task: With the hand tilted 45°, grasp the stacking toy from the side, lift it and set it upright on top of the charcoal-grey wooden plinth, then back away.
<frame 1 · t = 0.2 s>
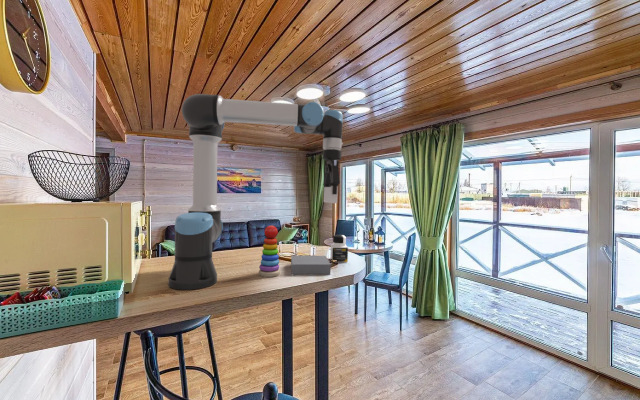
hand: (330, 202, 117), 28 cm above the bar counter, tool pointing down, fingers open, 13 cm apart
charcoal plinth: (309, 269, 120), on the bar counter
stacking toy: (269, 275, 111), on the bar counter
medicine bottle: (338, 261, 136), on the bar counter
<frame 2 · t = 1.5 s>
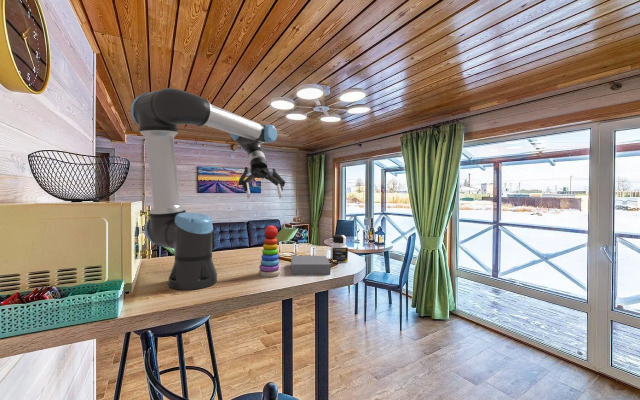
hand: (265, 196, 122), 30 cm above the bar counter, tool tilted 45°, fingers open, 13 cm apart
nothing on the bar counter moved.
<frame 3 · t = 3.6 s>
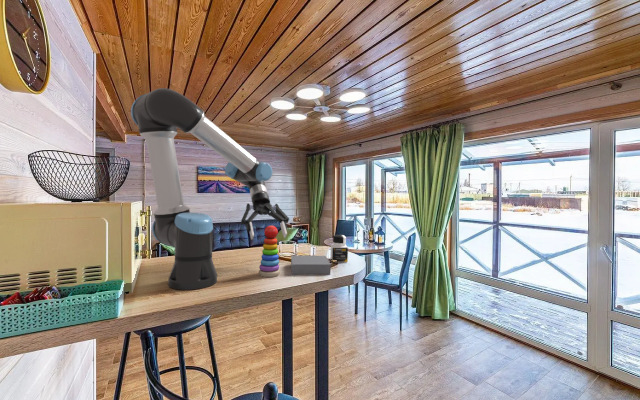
hand: (269, 236, 116), 14 cm above the bar counter, tool tilted 45°, fingers open, 13 cm apart
nothing on the bar counter moved.
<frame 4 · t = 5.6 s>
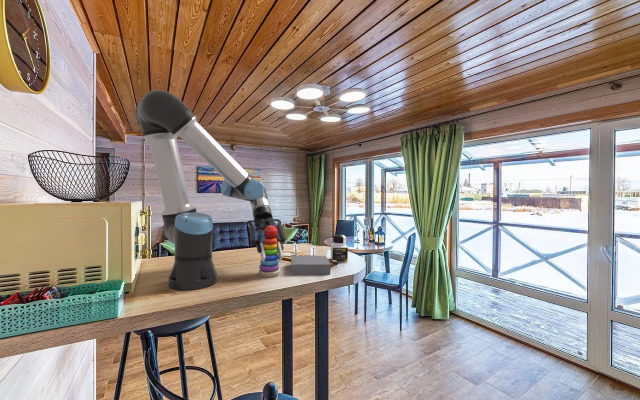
hand: (272, 258, 107), 7 cm above the bar counter, tool tilted 45°, fingers closed on stacking toy, 6 cm apart
stacking toy: (269, 275, 111), on the bar counter, touching gripper
everything else where it was.
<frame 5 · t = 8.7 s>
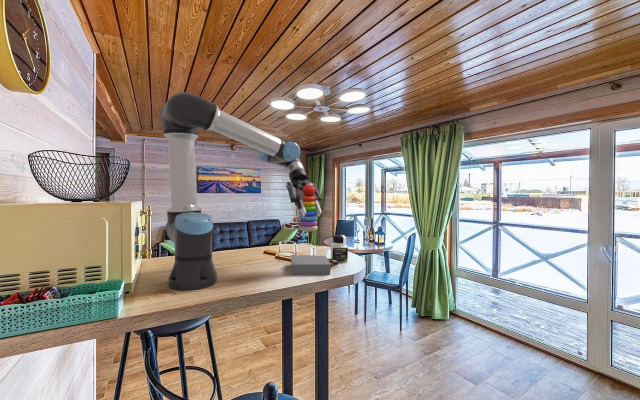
hand: (312, 214, 115), 23 cm above the bar counter, tool tilted 45°, fingers closed on stacking toy, 6 cm apart
stacking toy: (307, 230, 119), point 16 cm above the bar counter, touching gripper
everything else where it was.
when the fingers open (12 cm above the bar counter, at t = 11.5 s): stacking toy drops 1 cm, resting on charcoal plinth.
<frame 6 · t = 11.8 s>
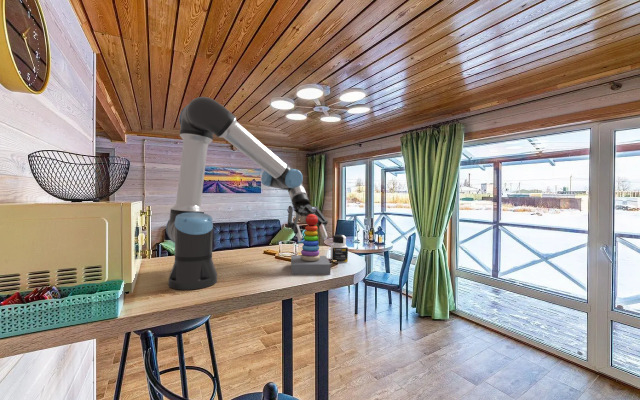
hand: (313, 239, 117), 13 cm above the bar counter, tool tilted 45°, fingers open, 10 cm apart
stacking toy: (310, 260, 120), point 4 cm above the bar counter, touching charcoal plinth
everything else where it was.
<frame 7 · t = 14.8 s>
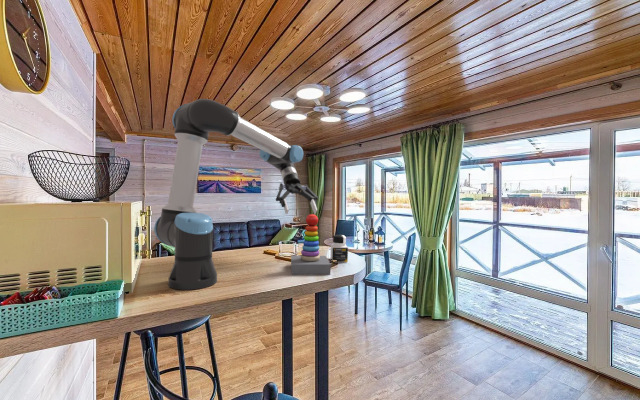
hand: (301, 211, 128), 23 cm above the bar counter, tool tilted 45°, fingers open, 13 cm apart
nothing on the bar counter moved.
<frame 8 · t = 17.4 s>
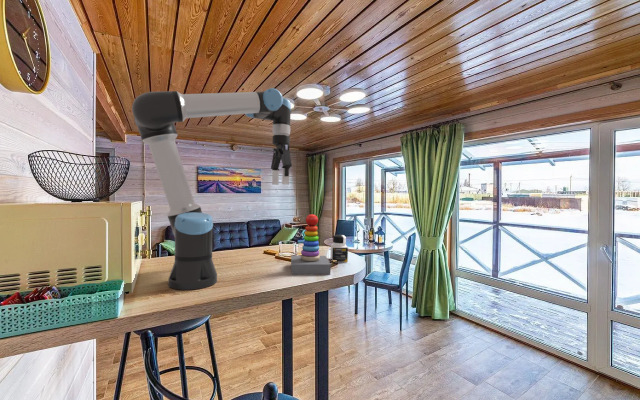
hand: (280, 184, 127), 35 cm above the bar counter, tool pointing down, fingers open, 13 cm apart
nothing on the bar counter moved.
at the end: stacking toy inside the target area on the charcoal plinth (0.3 cm from its centre), point 3.8 cm above the charcoal plinth's base; stacking toy tilted 0°; the gripper is holding nothing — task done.
